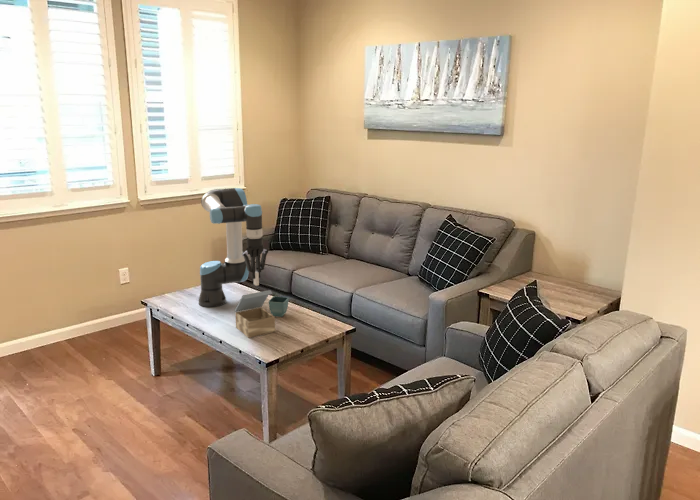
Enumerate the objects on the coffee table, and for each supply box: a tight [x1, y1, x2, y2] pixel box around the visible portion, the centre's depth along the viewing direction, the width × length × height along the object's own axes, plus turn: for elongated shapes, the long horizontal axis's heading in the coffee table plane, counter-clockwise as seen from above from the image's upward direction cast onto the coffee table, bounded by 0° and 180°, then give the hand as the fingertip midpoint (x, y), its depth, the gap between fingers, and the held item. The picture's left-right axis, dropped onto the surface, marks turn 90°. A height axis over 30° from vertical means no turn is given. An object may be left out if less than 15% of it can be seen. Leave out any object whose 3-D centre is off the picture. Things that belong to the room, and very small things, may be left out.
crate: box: [235, 307, 276, 339], centre depth 279 cm, size 16×14×8 cm
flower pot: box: [268, 295, 290, 318], centre depth 299 cm, size 9×9×9 cm
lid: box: [234, 289, 273, 313], centre depth 278 cm, size 17×14×2 cm
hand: (256, 284), depth 272 cm, fingers closed
